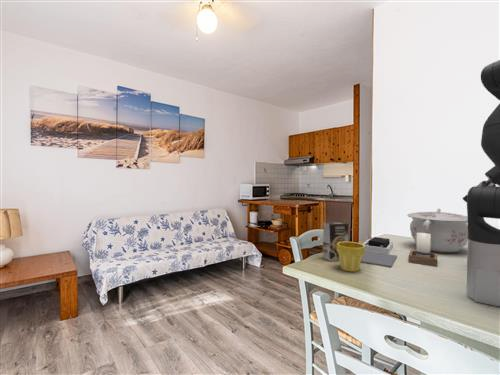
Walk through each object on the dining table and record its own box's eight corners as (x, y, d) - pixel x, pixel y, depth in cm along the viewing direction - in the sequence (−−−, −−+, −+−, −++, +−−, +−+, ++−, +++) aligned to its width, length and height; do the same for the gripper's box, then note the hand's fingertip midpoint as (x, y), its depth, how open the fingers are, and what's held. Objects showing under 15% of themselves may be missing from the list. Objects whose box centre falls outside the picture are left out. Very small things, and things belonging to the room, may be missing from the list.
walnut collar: (437, 266, 107) (437, 259, 107) (408, 262, 113) (408, 255, 113) (437, 260, 115) (437, 253, 115) (410, 256, 121) (410, 250, 121)
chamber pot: (446, 243, 148) (446, 205, 147) (489, 257, 120) (490, 211, 119) (395, 242, 148) (395, 205, 147) (426, 257, 121) (427, 211, 120)
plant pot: (369, 269, 104) (369, 244, 104) (356, 275, 97) (356, 249, 97) (344, 263, 112) (345, 240, 112) (331, 268, 105) (331, 244, 105)
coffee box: (330, 261, 114) (330, 224, 113) (322, 257, 120) (322, 222, 119) (348, 260, 116) (349, 223, 116) (340, 256, 122) (340, 221, 122)
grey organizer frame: (388, 254, 126) (388, 248, 125) (361, 250, 132) (361, 245, 132) (392, 247, 139) (393, 242, 138) (368, 243, 146) (368, 239, 145)
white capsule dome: (430, 264, 110) (430, 235, 110) (415, 261, 114) (415, 234, 113) (430, 261, 115) (431, 233, 114) (416, 258, 118) (416, 232, 118)
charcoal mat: (391, 267, 106) (391, 266, 106) (349, 260, 115) (349, 259, 115) (396, 256, 121) (396, 255, 121) (359, 251, 130) (359, 250, 130)
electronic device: (368, 250, 133) (368, 240, 133) (374, 246, 141) (374, 236, 141) (384, 253, 128) (384, 242, 128) (389, 248, 137) (389, 238, 137)
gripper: (492, 165, 106) (455, 193, 113) (499, 164, 94) (457, 195, 101) (510, 179, 103) (471, 206, 110) (520, 179, 91) (475, 210, 98)
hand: (465, 201), depth 105 cm, fingers open, 8 cm apart
